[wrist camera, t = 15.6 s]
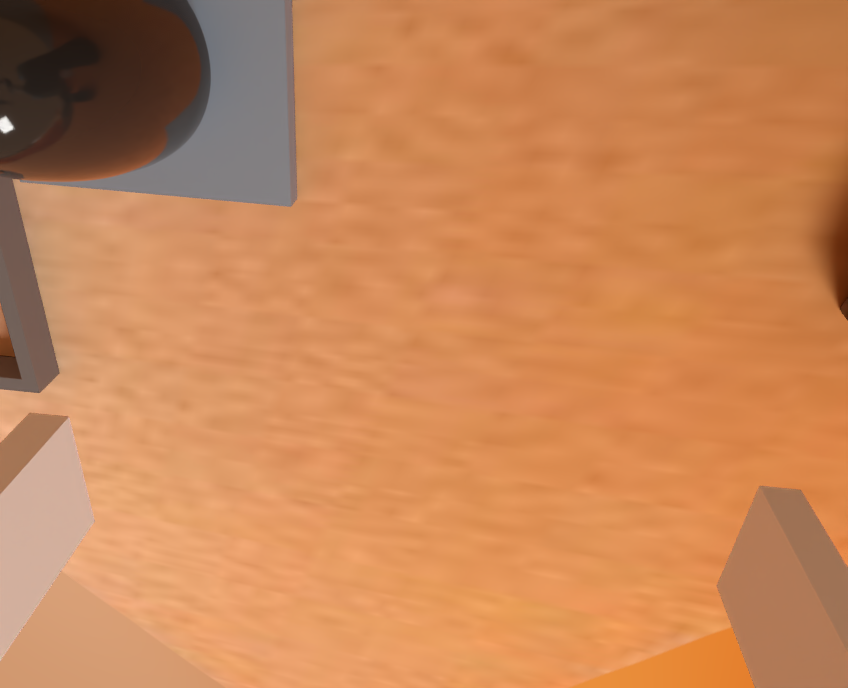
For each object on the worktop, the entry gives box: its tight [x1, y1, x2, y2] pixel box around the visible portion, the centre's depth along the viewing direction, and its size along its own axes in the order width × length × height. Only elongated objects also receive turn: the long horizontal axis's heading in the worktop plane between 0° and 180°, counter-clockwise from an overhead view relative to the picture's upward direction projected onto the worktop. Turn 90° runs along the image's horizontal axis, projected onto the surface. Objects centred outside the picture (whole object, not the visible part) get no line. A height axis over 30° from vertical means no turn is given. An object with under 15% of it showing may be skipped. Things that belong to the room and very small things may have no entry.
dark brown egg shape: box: [0, 0, 211, 182], centre depth 28 cm, size 10×10×15 cm
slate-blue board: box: [20, 0, 297, 207], centre depth 36 cm, size 16×16×2 cm
